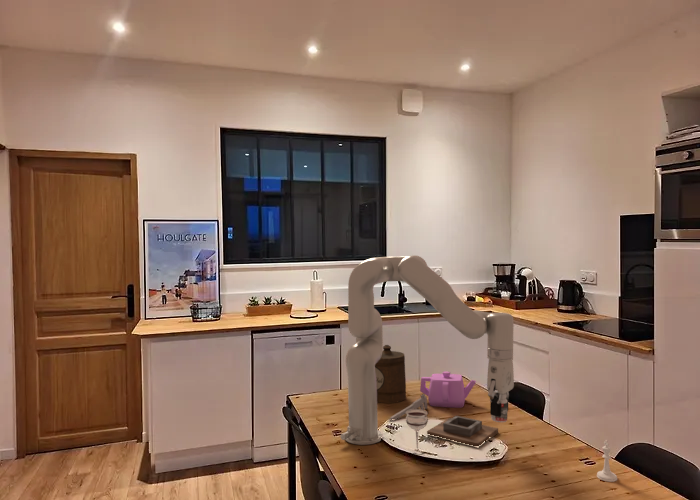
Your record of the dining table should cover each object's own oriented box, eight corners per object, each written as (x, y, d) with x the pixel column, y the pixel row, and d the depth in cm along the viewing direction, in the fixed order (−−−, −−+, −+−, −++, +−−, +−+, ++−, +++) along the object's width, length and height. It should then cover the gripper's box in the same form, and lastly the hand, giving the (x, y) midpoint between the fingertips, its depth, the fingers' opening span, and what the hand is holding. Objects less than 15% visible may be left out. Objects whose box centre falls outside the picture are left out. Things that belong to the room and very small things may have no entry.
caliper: (425, 409, 196) (424, 392, 196) (427, 409, 195) (426, 393, 195) (387, 421, 182) (387, 404, 182) (390, 422, 181) (389, 405, 181)
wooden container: (366, 394, 216) (365, 342, 216) (400, 391, 219) (399, 340, 218) (374, 404, 201) (373, 349, 201) (410, 401, 204) (409, 347, 204)
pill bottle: (496, 423, 151) (496, 395, 151) (488, 418, 156) (488, 391, 155) (510, 421, 152) (510, 394, 152) (501, 416, 157) (502, 389, 157)
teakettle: (417, 401, 205) (416, 370, 205) (448, 393, 214) (447, 364, 214) (446, 412, 191) (445, 379, 190) (478, 404, 200) (477, 373, 200)
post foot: (478, 448, 157) (477, 435, 156) (427, 435, 168) (426, 423, 168) (498, 432, 169) (498, 420, 169) (449, 421, 180) (449, 410, 180)
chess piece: (610, 473, 138) (610, 436, 138) (621, 481, 133) (620, 443, 133) (593, 473, 138) (592, 437, 138) (602, 482, 133) (602, 444, 133)
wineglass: (431, 449, 156) (431, 411, 156) (423, 457, 150) (422, 417, 150) (411, 445, 160) (410, 407, 160) (402, 453, 154) (401, 414, 154)
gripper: (501, 360, 145) (500, 423, 145) (522, 350, 158) (521, 408, 158) (476, 356, 149) (475, 418, 150) (499, 347, 162) (498, 403, 163)
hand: (499, 412), depth 154 cm, fingers closed on pill bottle, 4 cm apart
